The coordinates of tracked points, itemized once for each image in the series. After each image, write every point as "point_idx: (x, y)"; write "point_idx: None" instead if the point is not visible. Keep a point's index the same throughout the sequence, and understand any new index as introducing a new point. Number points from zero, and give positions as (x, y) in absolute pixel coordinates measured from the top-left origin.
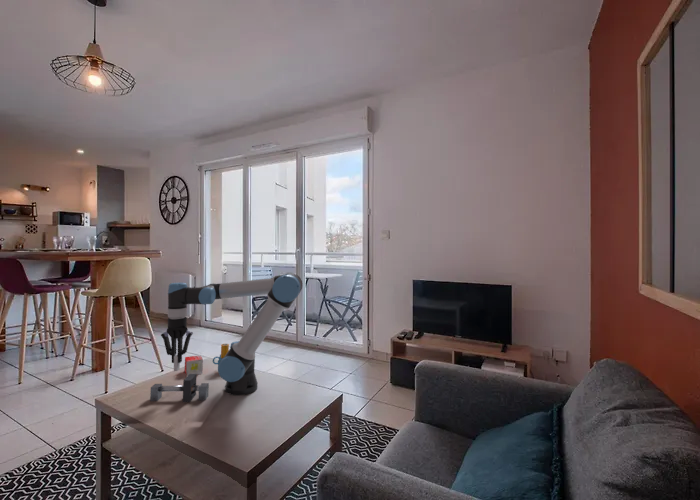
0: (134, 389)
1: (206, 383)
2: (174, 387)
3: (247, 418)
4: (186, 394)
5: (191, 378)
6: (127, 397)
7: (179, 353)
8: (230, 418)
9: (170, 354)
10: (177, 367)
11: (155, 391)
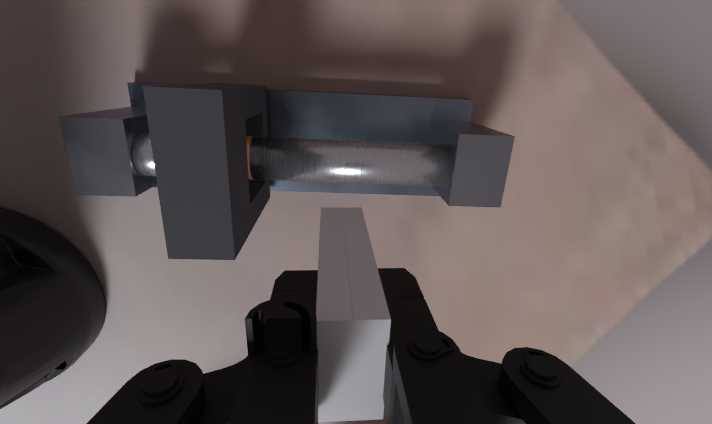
0: (591, 307)
1: (92, 187)
2: (337, 148)
3: None
4: (227, 85)
5: (160, 140)
6: (606, 219)
7: (265, 376)
8: None
9: (483, 368)
10: (320, 226)
11: (466, 130)
